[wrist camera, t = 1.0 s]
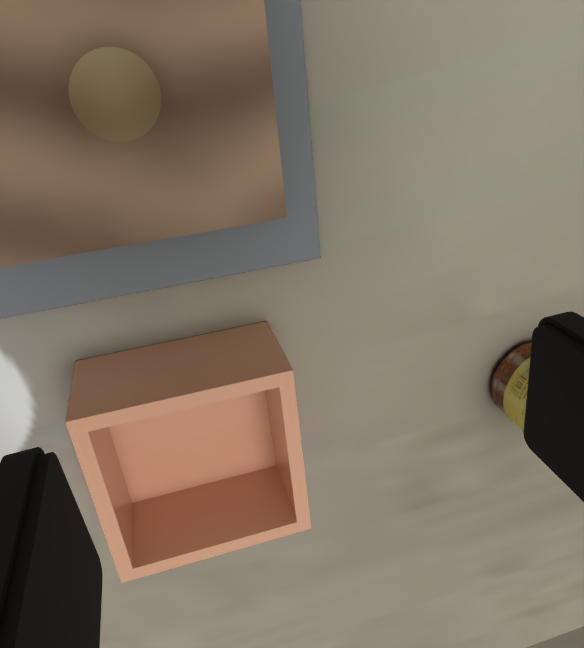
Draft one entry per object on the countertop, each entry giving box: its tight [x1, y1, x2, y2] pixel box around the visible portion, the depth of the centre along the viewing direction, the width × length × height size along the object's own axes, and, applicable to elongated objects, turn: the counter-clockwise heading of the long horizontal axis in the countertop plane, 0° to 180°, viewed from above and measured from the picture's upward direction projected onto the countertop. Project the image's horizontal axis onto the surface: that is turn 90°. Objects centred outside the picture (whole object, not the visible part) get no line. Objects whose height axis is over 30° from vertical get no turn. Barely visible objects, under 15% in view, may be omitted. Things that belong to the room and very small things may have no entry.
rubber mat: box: [0, 0, 321, 319], centre depth 26 cm, size 20×18×1 cm
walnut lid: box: [0, 0, 287, 267], centre depth 23 cm, size 14×14×6 cm
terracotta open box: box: [65, 321, 311, 583], centre depth 32 cm, size 11×11×6 cm
